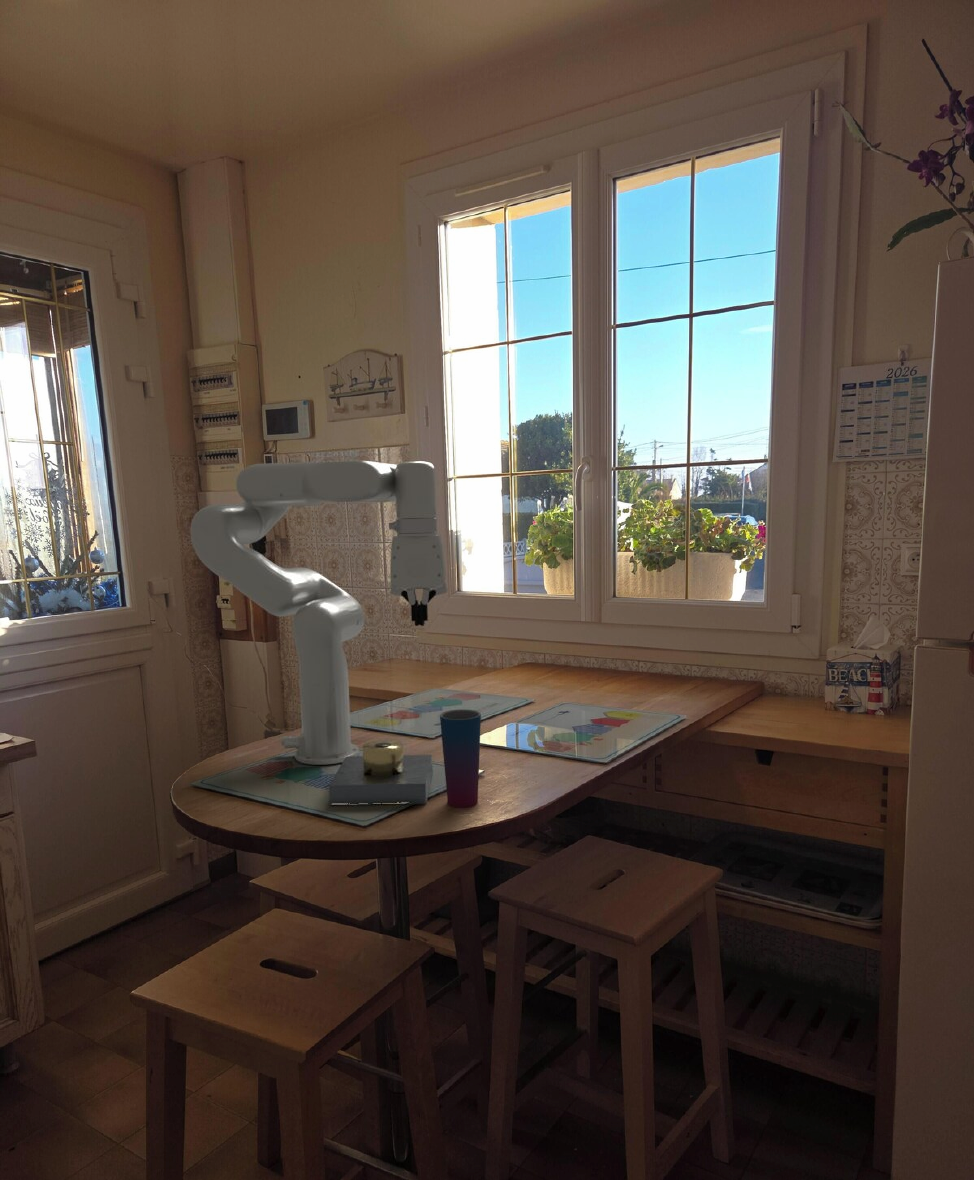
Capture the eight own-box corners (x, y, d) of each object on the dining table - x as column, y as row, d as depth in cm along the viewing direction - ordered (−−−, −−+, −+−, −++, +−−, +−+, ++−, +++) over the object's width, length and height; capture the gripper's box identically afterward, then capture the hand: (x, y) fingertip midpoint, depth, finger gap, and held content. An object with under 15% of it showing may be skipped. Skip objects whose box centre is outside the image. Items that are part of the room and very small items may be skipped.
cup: (491, 801, 135) (489, 713, 134) (463, 812, 130) (461, 721, 129) (462, 792, 140) (459, 707, 139) (433, 803, 135) (431, 715, 134)
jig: (330, 805, 135) (329, 785, 134) (346, 774, 151) (346, 756, 150) (426, 803, 135) (425, 783, 134) (432, 773, 151) (432, 754, 150)
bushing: (361, 794, 139) (359, 751, 138) (367, 780, 146) (365, 739, 145) (402, 793, 139) (400, 750, 138) (406, 780, 146) (404, 738, 145)
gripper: (374, 529, 149) (377, 628, 150) (455, 527, 148) (458, 626, 150) (380, 528, 156) (383, 623, 158) (457, 527, 156) (460, 621, 158)
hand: (419, 624), depth 154 cm, fingers closed
